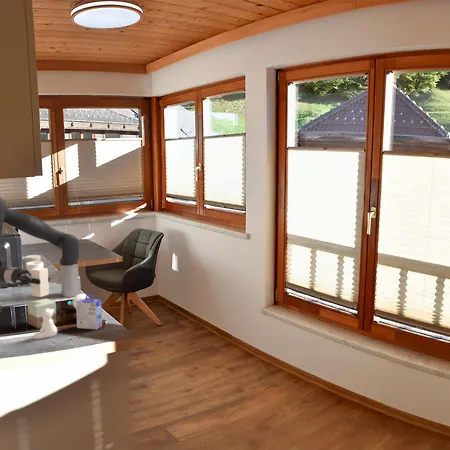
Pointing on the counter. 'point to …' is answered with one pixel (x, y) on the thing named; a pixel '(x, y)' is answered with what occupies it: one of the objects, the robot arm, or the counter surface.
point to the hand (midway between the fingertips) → (44, 280)
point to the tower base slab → (38, 320)
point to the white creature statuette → (47, 325)
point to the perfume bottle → (76, 299)
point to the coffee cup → (32, 258)
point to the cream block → (43, 287)
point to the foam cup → (34, 265)
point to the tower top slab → (40, 307)
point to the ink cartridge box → (89, 313)
